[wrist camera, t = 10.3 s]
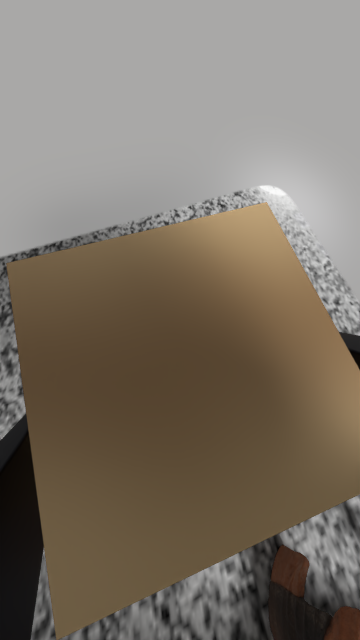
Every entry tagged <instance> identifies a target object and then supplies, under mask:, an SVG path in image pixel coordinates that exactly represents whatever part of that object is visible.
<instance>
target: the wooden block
mask: <svg viewBox="0 0 360 640" xmlns="http://www.w3.org/2000/svg"><path fill="white" fill-rule="evenodd" d="M6 264H7V272H8V279H9V287H10V294H11V302H12V310H13V317H14V325H15V332H16V340H17V347H18V355H19V362H20V370H21V377H22V385H23V392H24V400H25V407H26V415H27V422H28V430H29V437H30V445H31V452H32V460H33V467H34V475H35V482H36V490H37V497H38V505H39V512H40V520H41V527H42V535H43V543H44V550H45V558H46V565H47V573H48V580H49V588H50V595H51V603H52V610H53V618H54V625H55V633H56V640H59V639H61V638H63V637H65V636H67V635H69V634H71V633H73V632H75V631H77V630H80V629H82V628H84V627H86V626H88V625H90V624H92V623H94V622H96V621H98V620H100V619H102V618H104V617H106V616H109V615H111V614H113V613H115V612H117V611H119V610H121V609H123V608H125V607H127V606H129V605H131V604H133V603H135V602H138V601H140V600H142V599H144V598H146V597H148V596H150V595H152V594H154V593H156V592H158V591H160V590H162V589H164V588H167V587H169V586H171V585H173V584H175V583H177V582H179V581H181V580H183V579H185V578H187V577H189V576H191V575H193V574H196V573H198V572H200V571H202V570H204V569H206V568H208V567H210V566H212V565H214V564H216V563H218V562H220V561H222V560H225V559H227V558H229V557H231V556H233V555H235V554H237V553H239V552H241V551H243V550H245V549H247V548H249V547H251V546H253V545H256V544H258V543H260V542H262V541H264V540H266V539H268V538H270V537H272V536H274V535H276V534H278V533H280V532H282V531H285V530H287V529H289V528H291V527H293V526H295V525H297V524H299V523H301V522H303V521H305V520H307V519H309V518H311V517H314V516H316V515H318V514H320V513H322V512H324V511H326V510H328V509H330V508H332V507H334V506H336V505H338V504H340V503H343V502H345V501H347V500H349V499H351V498H353V497H355V496H357V495H359V494H360V370H359V368H358V366H357V364H356V363H355V361H354V359H353V357H352V355H351V354H350V352H349V350H348V348H347V346H346V345H345V343H344V341H343V339H342V337H341V335H340V334H339V332H338V330H337V328H336V326H335V325H334V323H333V321H332V319H331V317H330V316H329V314H328V312H327V310H326V308H325V307H324V305H323V303H322V301H321V299H320V298H319V296H318V294H317V292H316V290H315V289H314V287H313V285H312V283H311V281H310V280H309V278H308V276H307V274H306V272H305V271H304V269H303V267H302V265H301V263H300V262H299V260H298V258H297V256H296V254H295V252H294V251H293V249H292V247H291V245H290V243H289V242H288V240H287V238H286V236H285V234H284V233H283V231H282V229H281V227H280V225H279V224H278V222H277V220H276V218H275V216H274V215H273V213H272V211H271V209H270V207H269V206H268V204H267V202H266V203H261V204H257V205H253V206H249V207H244V208H240V209H236V210H231V211H227V212H223V213H219V214H214V215H210V216H206V217H202V218H197V219H193V220H189V221H185V222H180V223H176V224H172V225H167V226H163V227H159V228H155V229H150V230H146V231H142V232H138V233H133V234H129V235H125V236H121V237H116V238H112V239H108V240H104V241H99V242H95V243H91V244H86V245H82V246H78V247H74V248H69V249H65V250H61V251H57V252H52V253H48V254H44V255H40V256H35V257H31V258H27V259H22V260H18V261H14V262H10V263H6Z"/></svg>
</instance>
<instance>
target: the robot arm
mask: <svg viewBox="0 0 360 640" xmlns="http://www.w3.org/2000/svg"><path fill="white" fill-rule="evenodd" d="M339 334H340V335H341V337H342V339H343V341H344V343H345V345H346V346H347V348H348V350H349V352H350V354H351V355H352V357H353V359H354V361H355V363H356V364H357V366H358V368H359V370H360V336H358V335H352V334H347V333H342V332H339ZM43 549H44V543H43V535H42V527H41V520H40V512H39V505H38V497H37V490H36V482H35V475H34V467H33V460H32V452H31V445H30V437H29V430H28V422H27V415H26V414H25V415H24V417H23V418H22V419H21V420H20V421H19V422H18V423H17V424H16V425H15V426H14V427H13V428H12V429H11V430H10V431H9V432H8V433H7V434H6V435H5V436H4V437H3V439H2V440H1V441H0V640H30V639H31V632H32V625H33V618H34V611H35V604H36V597H37V590H38V583H39V576H40V569H41V562H42V556H43Z"/></svg>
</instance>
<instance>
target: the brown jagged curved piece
mask: <svg viewBox="0 0 360 640" xmlns="http://www.w3.org/2000/svg"><path fill="white" fill-rule="evenodd" d="M308 568H309V561H308V559H307V558H306V557H305V556H304V555H302V554H301V553H299V552H294V551H293V550H291V549H289V548H287V547H286V546H284V545H282V546H280V547H279V550H278V552H277V554H276V556H275V560H274V563H273V567H272V574H271V581H270V585H269V599H268V608H269V622H270V628H271V632H272V634H273V637H274V640H360V610H359V609H357V608H351V607H348V606H344V607H340V608H339V609H338V610H337V611H336V612H335V615H334V616H333V617H332V616H331V615H330V614H328V613H327V612H325V611H322V610H319V609H317V608H316V607H314V606H312V605H310V604H309V603H308V602H306V601H305V599H304V586H305V582H306V577H307V572H308Z"/></svg>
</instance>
